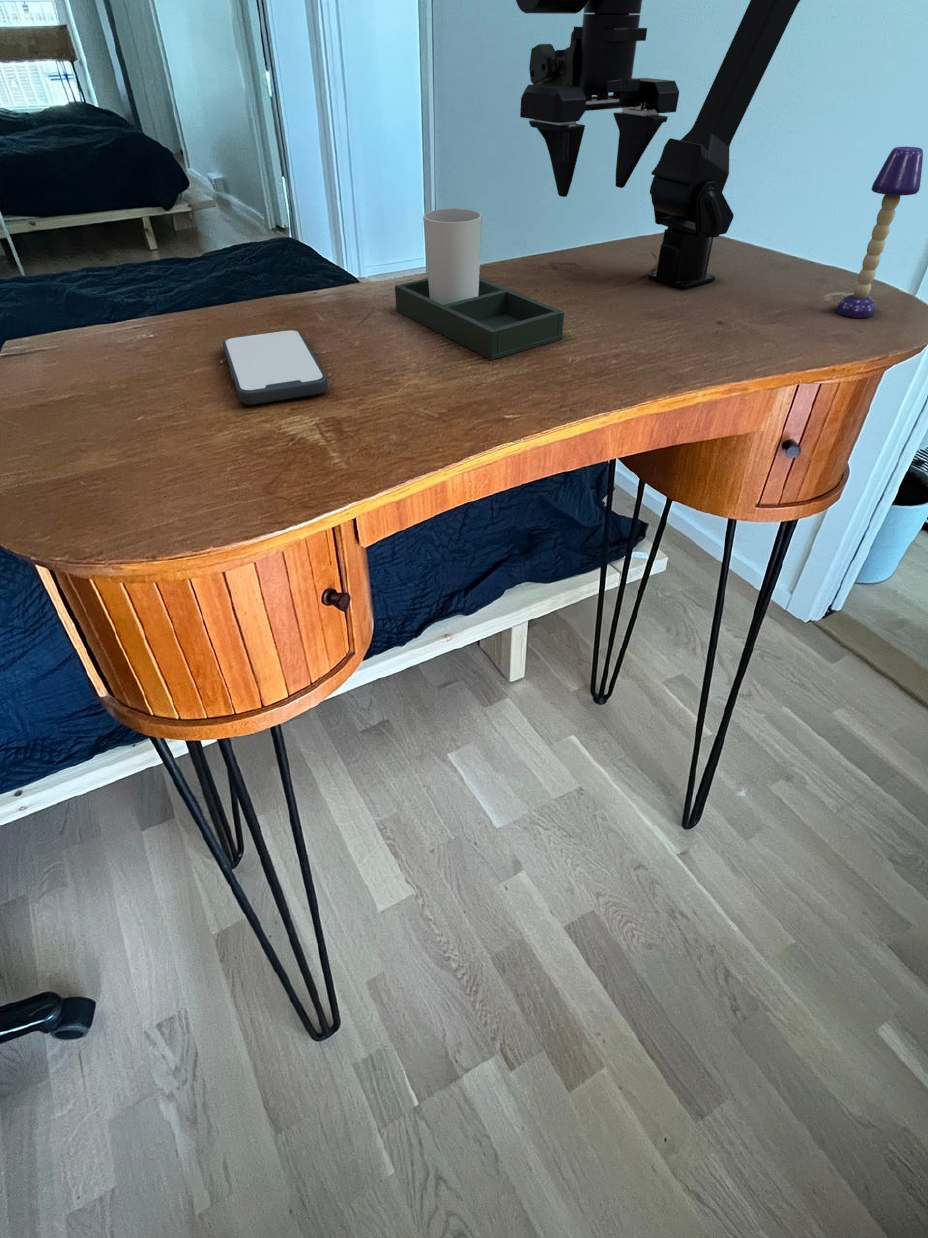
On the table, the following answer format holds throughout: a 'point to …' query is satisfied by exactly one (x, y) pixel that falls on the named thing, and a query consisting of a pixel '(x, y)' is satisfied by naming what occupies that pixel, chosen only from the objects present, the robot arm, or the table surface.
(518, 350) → the tray
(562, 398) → the table surface
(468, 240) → the white cup
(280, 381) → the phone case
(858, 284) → the toy lamp
